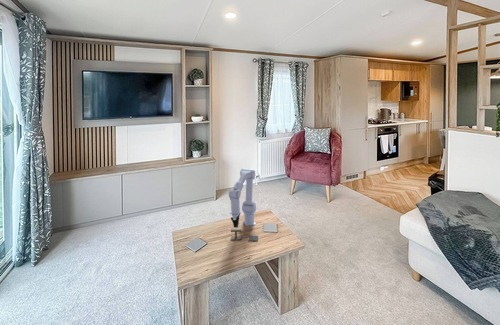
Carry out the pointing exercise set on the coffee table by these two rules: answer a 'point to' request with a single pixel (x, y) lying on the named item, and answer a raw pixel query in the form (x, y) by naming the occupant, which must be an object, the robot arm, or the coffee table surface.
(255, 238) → the mat
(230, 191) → the robot arm
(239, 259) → the coffee table surface
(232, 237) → the stand
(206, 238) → the coffee table surface
